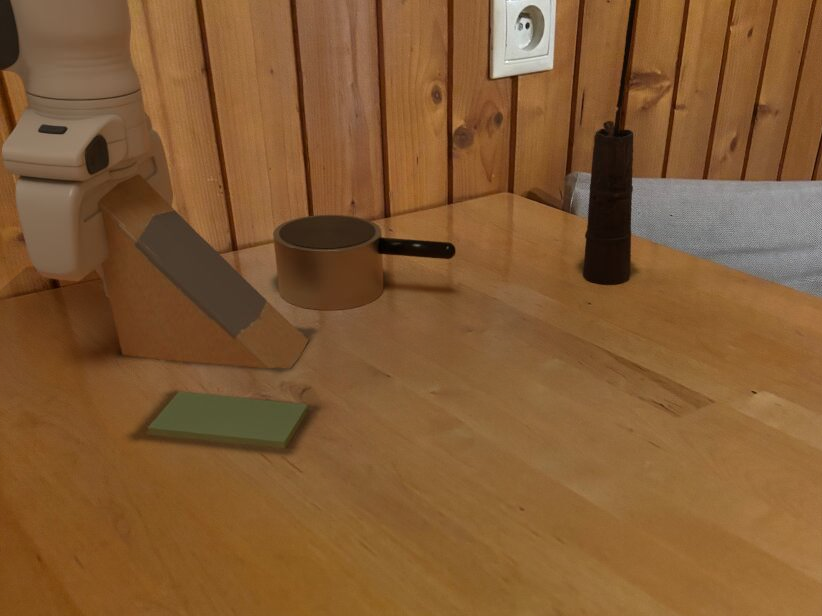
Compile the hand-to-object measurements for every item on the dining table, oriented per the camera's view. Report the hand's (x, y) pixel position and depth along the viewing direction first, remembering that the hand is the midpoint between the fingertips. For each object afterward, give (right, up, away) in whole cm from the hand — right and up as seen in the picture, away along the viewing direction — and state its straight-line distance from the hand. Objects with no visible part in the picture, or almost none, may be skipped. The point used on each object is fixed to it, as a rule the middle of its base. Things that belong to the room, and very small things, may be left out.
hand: (122, 293), depth 85 cm
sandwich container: (+8, -5, +2) cm, 10 cm away
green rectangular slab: (+12, -14, -9) cm, 21 cm away
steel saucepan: (+21, +5, +14) cm, 26 cm away
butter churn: (+47, +8, +19) cm, 51 cm away
